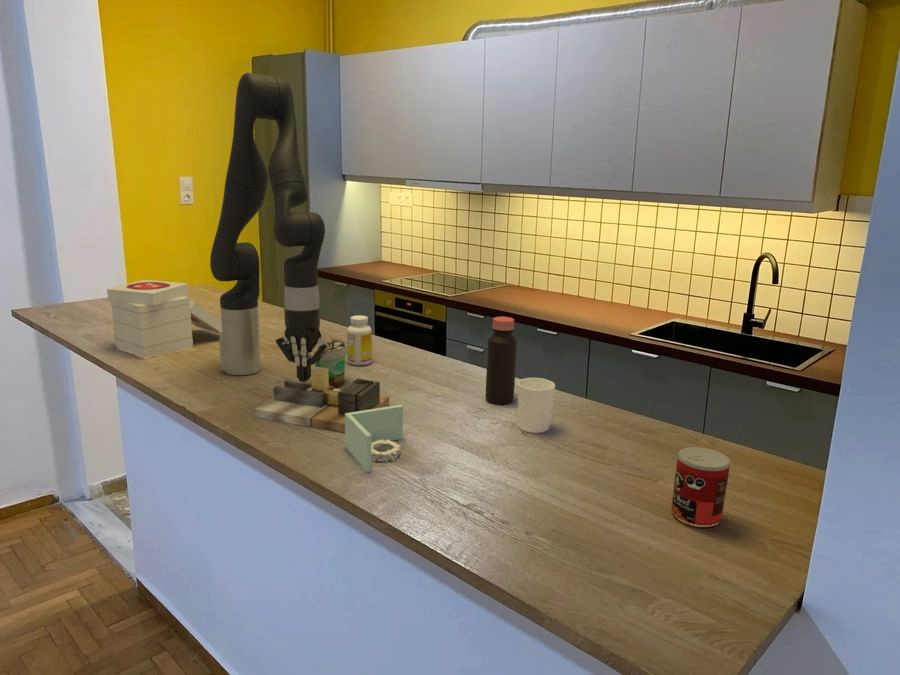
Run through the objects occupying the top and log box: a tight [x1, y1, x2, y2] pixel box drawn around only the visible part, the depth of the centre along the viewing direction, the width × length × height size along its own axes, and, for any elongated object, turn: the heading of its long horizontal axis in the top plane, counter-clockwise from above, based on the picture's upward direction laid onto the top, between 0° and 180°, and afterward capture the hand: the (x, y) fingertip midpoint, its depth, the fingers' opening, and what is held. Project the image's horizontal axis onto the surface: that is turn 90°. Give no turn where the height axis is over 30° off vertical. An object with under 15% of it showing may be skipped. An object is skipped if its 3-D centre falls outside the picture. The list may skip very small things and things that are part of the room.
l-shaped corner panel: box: [344, 404, 404, 473], centre depth 133 cm, size 12×12×8 cm
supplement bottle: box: [346, 315, 373, 367], centre depth 187 cm, size 7×7×13 cm
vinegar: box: [484, 316, 518, 405], centre depth 161 cm, size 7×7×20 cm
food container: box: [313, 338, 348, 389], centre depth 170 cm, size 12×6×10 cm, turn 168°
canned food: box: [670, 446, 731, 525], centre depth 113 cm, size 8×8×11 cm
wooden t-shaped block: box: [307, 367, 339, 405], centre depth 152 cm, size 12×2×7 cm, turn 72°
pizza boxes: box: [106, 279, 222, 357], centre depth 198 cm, size 19×30×18 cm, turn 143°
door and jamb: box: [254, 378, 390, 434], centre depth 153 cm, size 24×18×7 cm
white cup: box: [517, 377, 556, 434], centre depth 147 cm, size 8×8×10 cm
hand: (304, 380), depth 153 cm, fingers closed
